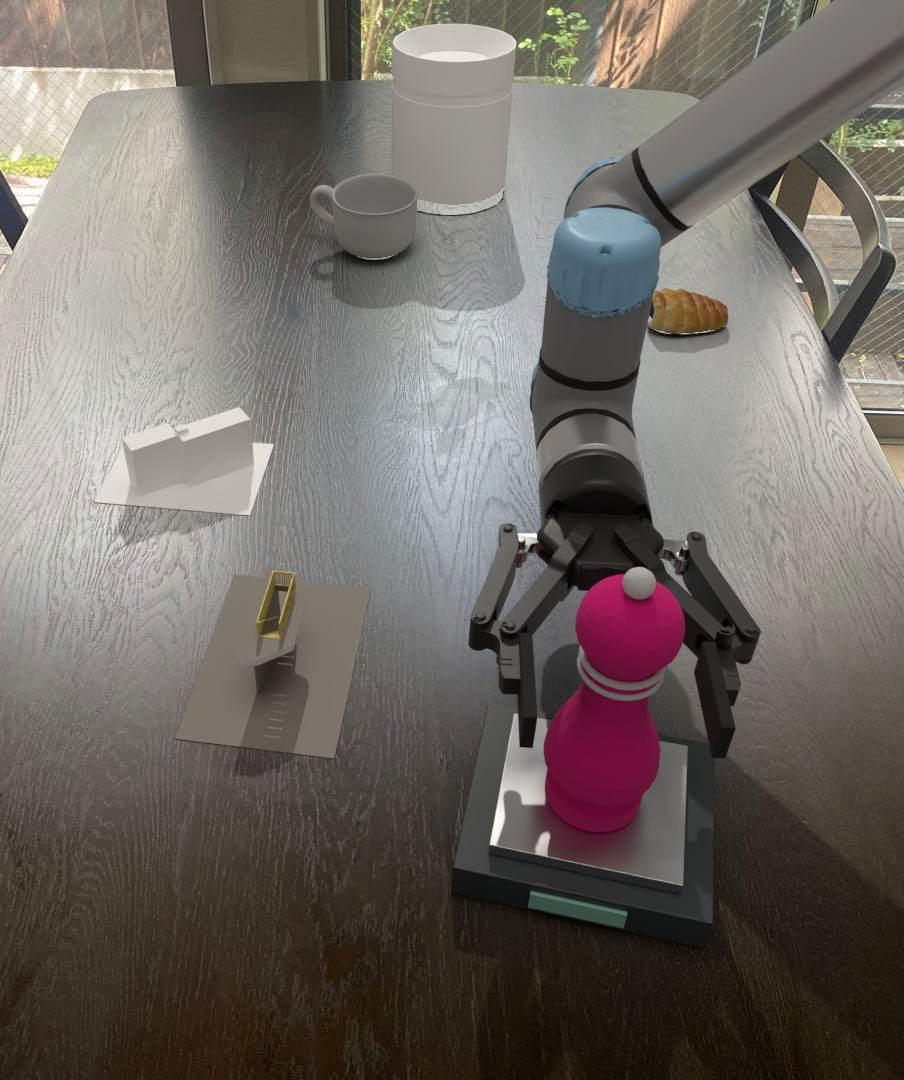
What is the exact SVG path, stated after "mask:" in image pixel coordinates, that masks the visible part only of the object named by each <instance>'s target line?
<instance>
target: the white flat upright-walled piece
mask: <svg viewBox="0 0 904 1080" xmlns="http://www.w3.org/2000/svg"><path fill="white" fill-rule="evenodd" d="M121 441H122V447H121V449H120V451H119V453H118V455H117V457H116V459H115V461H114V463H113V465H112V467H111V468H110V471H109V473H108V475H107V477H106V478H105V480H104V482H103V485H102V486H101V488H100V490H99V492H98V494H97V496H96V498H95V500H94V503H99V504H100V503H101V504H111V505H123V506H134V507H135V506H136V507H146V508H157V509H158V508H159V509H170V510H182V511H193V512H205V513H216V514H228V515H237V516H238V515H239V516H251V514H252V511H253V508H254V505H255V502H256V499H257V496H258V493H259V490H260V488H261V485H262V481H263V478H264V477H265V476H264V475H265V472H266V469H267V467H268V464H269V461H270V457H271V455H272V452H273V449H274V446H275V444H274V443H265V442H253V433H252V424H251V418H250V417H249V416H248V415H247V414H246V413H245V412H244V410H243V409H242V408H240V407H239V406H237V407H235V408H231V409H229V410H225V411H222V412H221V413H217V414H214V415H211V416H208V417H204V418H202V419H198V420H196V421H193V422H190V423H182V424H178V425H175V426H173V427H172V426H171V425H170V424H169V423H168V422H166V423H163V424H160V425H157V426H154V427H150V428H147V429H145V430H142V431H140V432H139V431H138V432H129V433H128V435H127V436H124V437H121Z"/></svg>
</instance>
